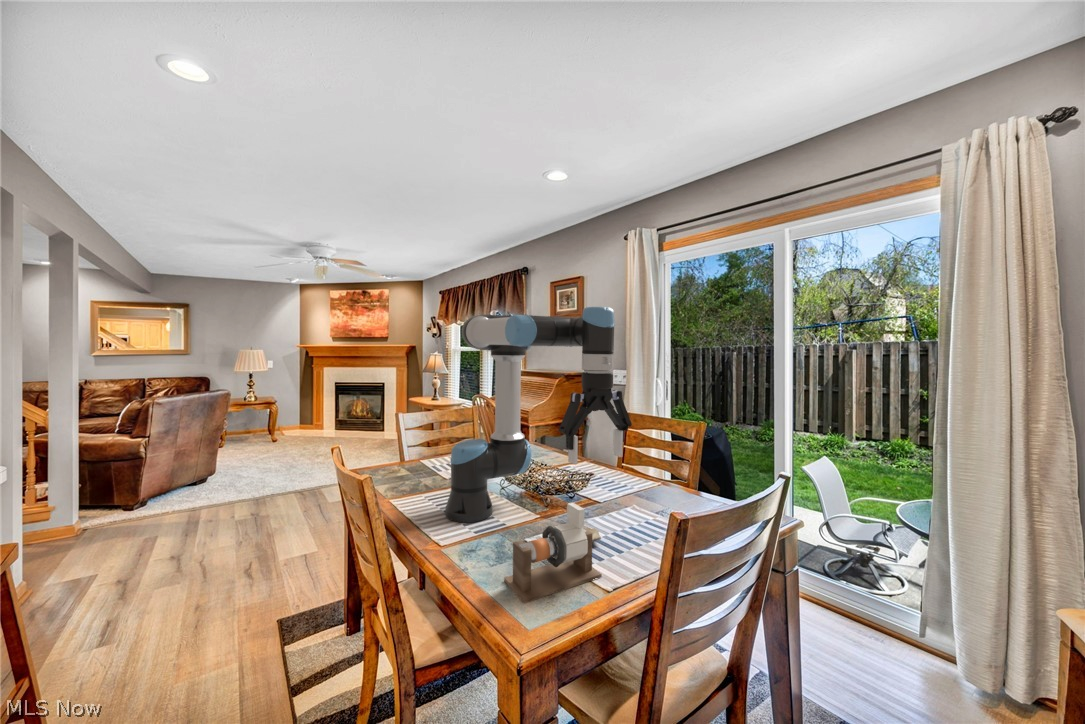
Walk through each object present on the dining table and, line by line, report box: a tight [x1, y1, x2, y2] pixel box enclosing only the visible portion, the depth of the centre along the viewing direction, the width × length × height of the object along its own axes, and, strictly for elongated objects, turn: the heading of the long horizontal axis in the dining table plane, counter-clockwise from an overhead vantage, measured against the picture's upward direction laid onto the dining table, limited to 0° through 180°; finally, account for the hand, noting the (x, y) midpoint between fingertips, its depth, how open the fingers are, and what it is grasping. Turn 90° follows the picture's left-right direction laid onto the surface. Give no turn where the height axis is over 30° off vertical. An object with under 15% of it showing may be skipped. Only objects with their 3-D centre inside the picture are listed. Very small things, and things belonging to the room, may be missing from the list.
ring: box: [541, 525, 564, 567], centre depth 104 cm, size 1×9×9 cm, turn 31°
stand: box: [503, 528, 602, 604], centre depth 104 cm, size 21×10×10 cm, turn 121°
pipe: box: [519, 528, 586, 564], centre depth 104 cm, size 18×4×4 cm, turn 121°
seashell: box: [583, 525, 602, 543], centre depth 124 cm, size 12×12×3 cm
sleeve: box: [548, 502, 588, 564], centre depth 106 cm, size 6×8×12 cm
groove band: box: [528, 537, 550, 564], centre depth 102 cm, size 4×5×5 cm
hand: (596, 459), depth 107 cm, fingers open, 13 cm apart
